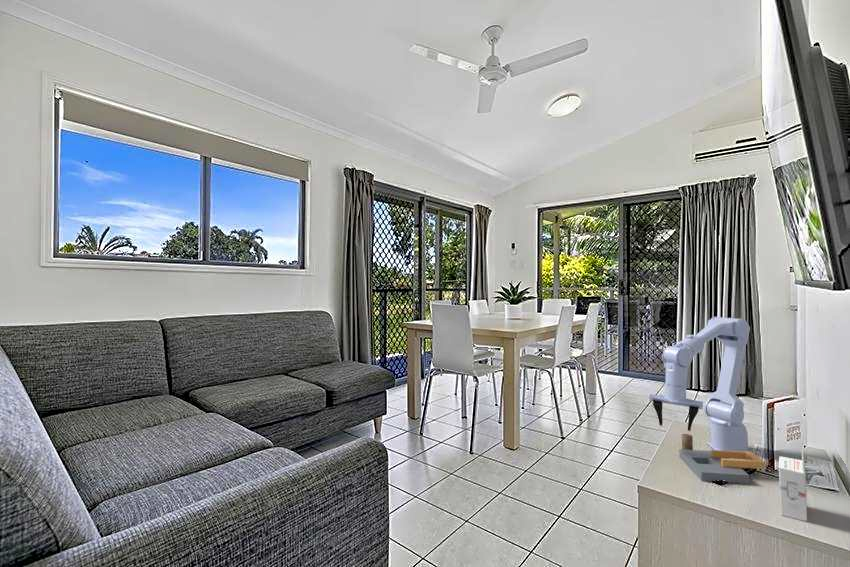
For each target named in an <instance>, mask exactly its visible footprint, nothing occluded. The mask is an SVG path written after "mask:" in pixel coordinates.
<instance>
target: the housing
mask: <svg viewBox="0 0 850 567" xmlns="http://www.w3.org/2000/svg"><path fill="white" fill-rule="evenodd" d="M678 452H679V454H678V456H679V458H680V459H681V460H682V462H683V463H684V464H686V466H687V467H688V468H689V469H690V470H691V471H692V472H693V473H694V474H695V476H696V477H697V479H698V478H699V480H700V481H701V482H711V483H712V481H716V480H725V481H727V482H728V484H741V485H742V484H743V485H744V484H745V485H750V474H748V473H747V472H746V471H745V470H744V468H738V467H723V466H722V465H721V458H713V457H712V456H711V450H702V449H701V450H699V449H693V450H682V448H681V449H678ZM724 459H730V458H724Z"/></svg>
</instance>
